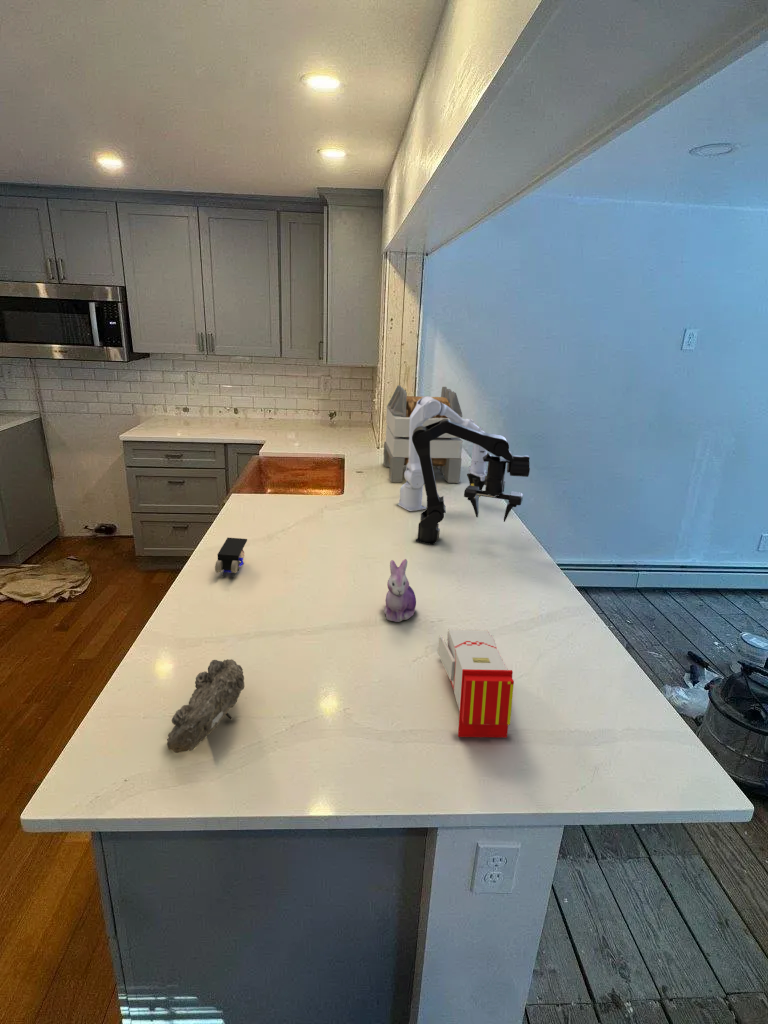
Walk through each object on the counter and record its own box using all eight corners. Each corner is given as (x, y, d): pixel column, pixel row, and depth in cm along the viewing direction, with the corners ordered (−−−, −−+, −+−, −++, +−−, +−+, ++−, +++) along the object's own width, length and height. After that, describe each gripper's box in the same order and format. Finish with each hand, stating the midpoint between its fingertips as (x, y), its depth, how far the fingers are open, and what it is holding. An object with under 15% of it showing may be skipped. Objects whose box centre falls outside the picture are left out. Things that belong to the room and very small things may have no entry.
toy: (488, 613, 130) (523, 677, 101) (484, 667, 133) (517, 744, 104) (435, 612, 130) (455, 676, 101) (432, 666, 133) (451, 743, 103)
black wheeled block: (238, 584, 162) (249, 557, 175) (236, 562, 158) (247, 536, 172) (215, 584, 161) (227, 556, 175) (212, 561, 158) (225, 535, 171)
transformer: (382, 463, 289) (386, 382, 275) (445, 464, 293) (451, 384, 279) (390, 482, 257) (394, 392, 243) (460, 483, 261) (468, 394, 247)
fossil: (192, 660, 117) (244, 628, 112) (224, 691, 120) (276, 661, 115) (142, 746, 98) (202, 712, 93) (182, 779, 101) (242, 748, 96)
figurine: (392, 627, 141) (395, 572, 136) (374, 608, 149) (376, 556, 144) (425, 619, 145) (429, 566, 140) (405, 601, 154) (408, 550, 149)
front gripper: (527, 472, 190) (521, 516, 195) (472, 465, 196) (468, 507, 201) (523, 481, 180) (517, 526, 185) (465, 473, 186) (461, 517, 191)
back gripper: (495, 465, 220) (491, 498, 225) (481, 455, 234) (478, 487, 238) (477, 465, 219) (474, 498, 223) (465, 456, 232) (462, 487, 237)
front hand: (490, 519), depth 191 cm, fingers open, 9 cm apart
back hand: (475, 492), depth 231 cm, fingers closed on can, 4 cm apart
